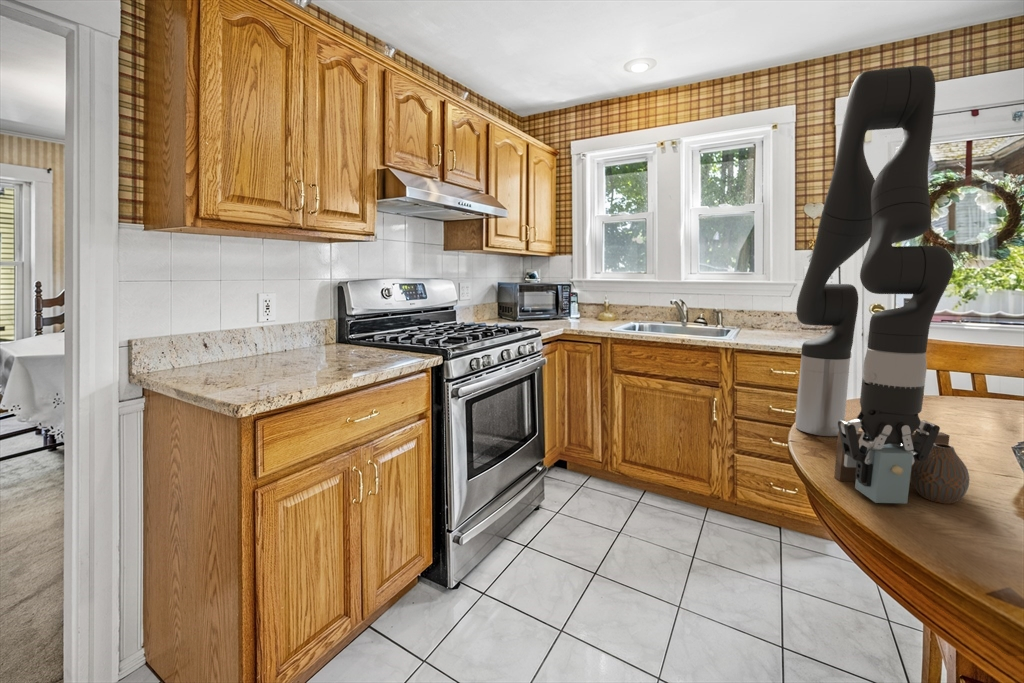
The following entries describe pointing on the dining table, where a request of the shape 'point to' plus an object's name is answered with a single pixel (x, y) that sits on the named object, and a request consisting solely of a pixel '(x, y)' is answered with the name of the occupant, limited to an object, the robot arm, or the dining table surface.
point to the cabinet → (887, 475)
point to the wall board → (849, 472)
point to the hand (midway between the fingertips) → (881, 484)
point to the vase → (941, 475)
